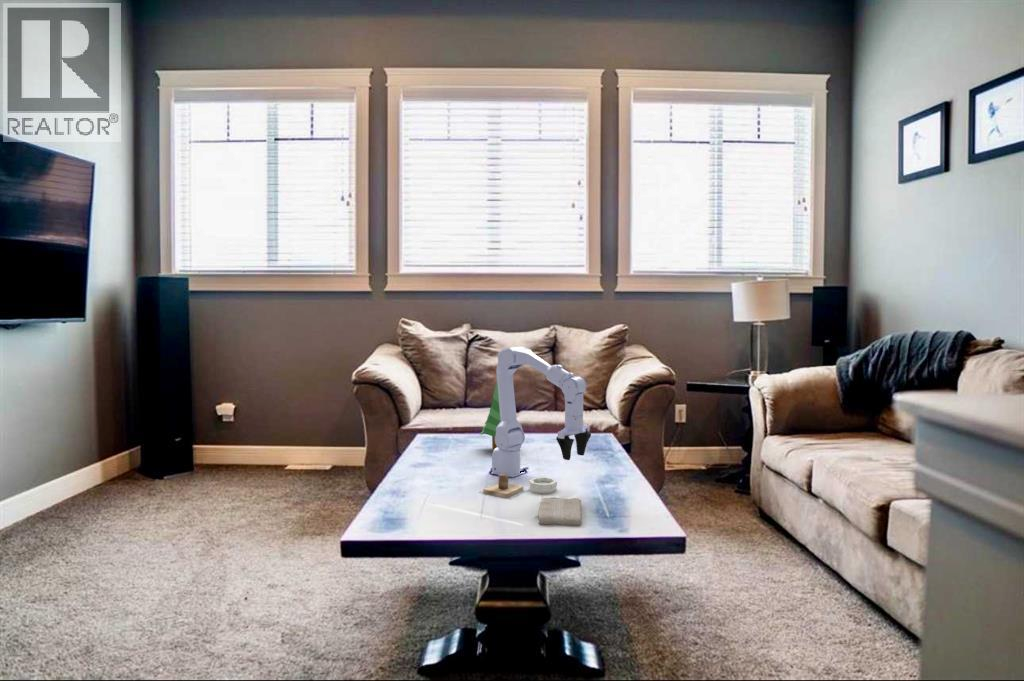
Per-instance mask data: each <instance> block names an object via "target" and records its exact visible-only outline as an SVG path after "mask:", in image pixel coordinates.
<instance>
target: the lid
mask: <svg viewBox="0 0 1024 681" xmlns="http://www.w3.org/2000/svg"><path fill="white" fill-rule="evenodd" d="M497 475H498V474H497ZM497 480H498V482H496V483H494V484H491V485H490V486H487V487H485V488H483V489H482V491H483V493H486V494H485V495H487V494H491V495H490V496H492V495H496V496H495V497H497V496H501V497H500V498H502V497H506V498H505V499H507V498H508V497H510V496H512V495H514V494H517V493H519V492H521V491H523V490H524V486H523V485H519V484H512V483H509V476H508V474H499V475H498V479H497Z"/></svg>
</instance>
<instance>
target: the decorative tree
mask: <svg viewBox="0 0 1024 681" xmlns="http://www.w3.org/2000/svg"><path fill="white" fill-rule="evenodd" d="M492 396H493V397H492V399H491V400H492V401H491V406H490V409H489V412H488V415H487V417H486V418H487V419H486V420H485V423H484V426H483V428H482V430H481V432H480V433H479V435H484V434H485V435H487V436H491V437H492V438H491V446H492V447H491V449H492V451H494V449H495V448H497V446H496V444H495V436H496V427H497V426H498V425H499V423H500V422H501V418H500V407H499V396H498V385H497V380H496V382H495V387H494V390H493V395H492Z"/></svg>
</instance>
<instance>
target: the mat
mask: <svg viewBox="0 0 1024 681" xmlns="http://www.w3.org/2000/svg"><path fill="white" fill-rule="evenodd" d="M528 491H529V490H527V489H523V491H521V492H519V493H517V494H514V495H512V496H510V497H508V498H506V497H501V496H496V495H491V494H486V493H483V490H481V491H478V494H482V495H488V496H492V497H499V498H503V499H508V500H512V499H514V498H517V497H519V496H521V495H522V494H525V493H527V492H528Z"/></svg>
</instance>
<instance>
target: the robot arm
mask: <svg viewBox="0 0 1024 681" xmlns="http://www.w3.org/2000/svg"><path fill="white" fill-rule="evenodd" d="M525 365H528V366H529V367H532V368H533V369H535V370H537V371H539V372H541V373H542V374H544V375H545V378H546V380H547V381H549V382H550V383H551V384H553V385H554V386H557V387H558V388H560V389H561V392H562V394H563V395H564V412H565V413H564V428H563V429H561V430H560V431H557V436H556V439H555V440H556V442H557V443H558V446H559V447H560V451H561V454H562V459H563V460H565V461H570V460H571V458H572V457H571V456H572V455H571V454H572V447H573V444H574V441H575V443H576V446H575V447H576V453H577V454H576V455H578V456H584V455H585V452H586V449H587V445H588V442H589V440H590V438H591V436H592V433H591V432H590V425H589V424H584V393H585V392H586V391H587V387H588V384H587V382H586V379H585V378H583V376H582V375H574V372H569V371H568V370H566V369H564V368H563V365H562V364H552V365H551V364H550V363H548V362H547V361H545V360H544V359H542V358H541V357H540V356H538V355H536V354H535V353H534V352H533V350H532V349H530V348H527V347H526V346H524V345H520V346H512V347H503V348H502V349H501V350H500V352H498V354H497V365H496V371H495V372H496V381H497V385H498V396H499V407H500V418H501V422H500V423H499V425H498V426H497V427H496V436H495V444H496V446H497V448H495V449H494V450H492V455H491V474H494V475H499V474H508V478H515V477H517V476H520V475H524V474H526V471H524V472H521V473H520V471H521V448H522V444H524V442H525V437H526V436H525V432H524V430H523V425H522V423H521V422H519V421H518V419H517V408H516V399H515V388H514V387H515V386H514V375H513V374H515V372H516V371H517V370H518V369H519V368H521V367H522V366H525ZM571 436H574V438H575V439H574V438H570V437H571Z"/></svg>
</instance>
